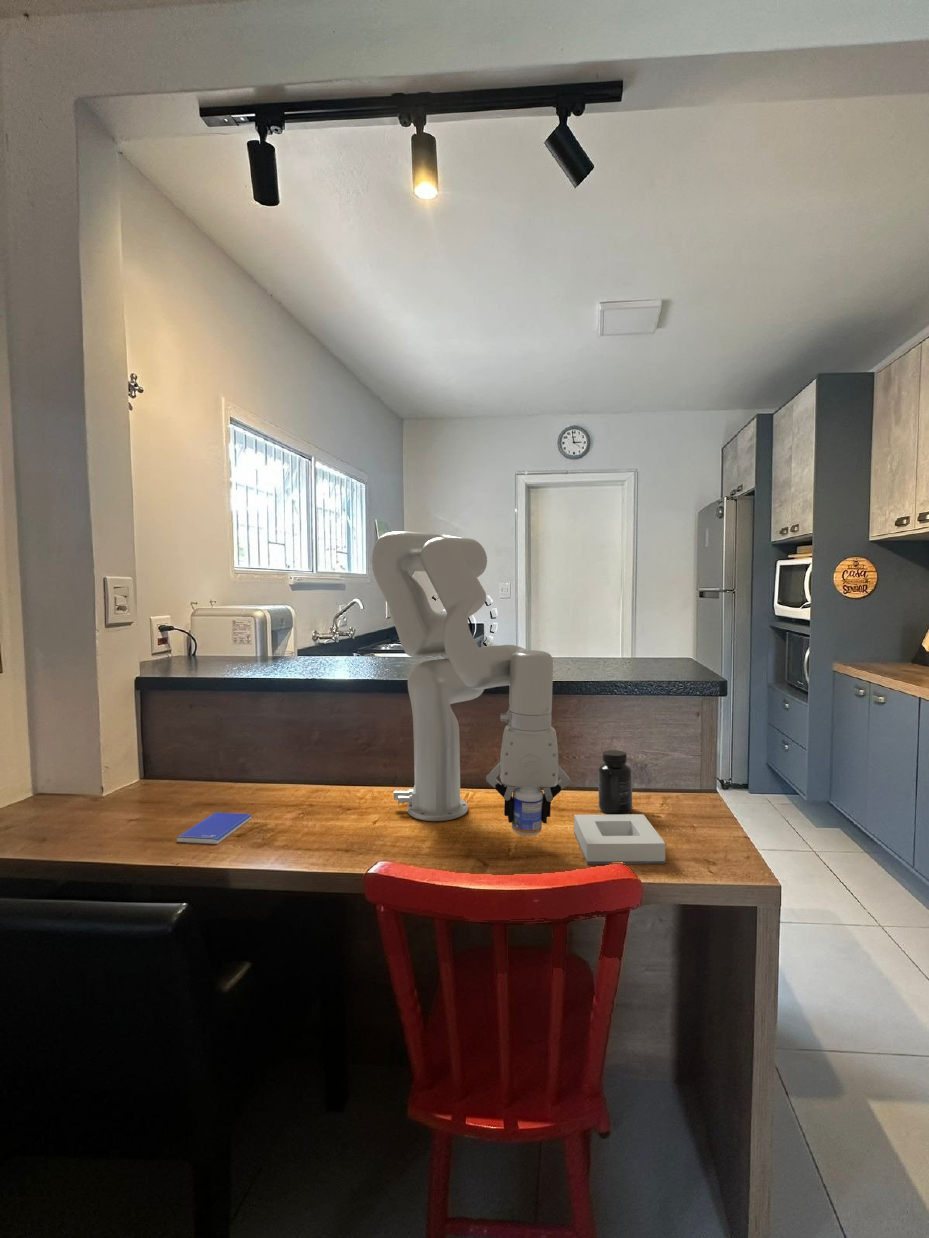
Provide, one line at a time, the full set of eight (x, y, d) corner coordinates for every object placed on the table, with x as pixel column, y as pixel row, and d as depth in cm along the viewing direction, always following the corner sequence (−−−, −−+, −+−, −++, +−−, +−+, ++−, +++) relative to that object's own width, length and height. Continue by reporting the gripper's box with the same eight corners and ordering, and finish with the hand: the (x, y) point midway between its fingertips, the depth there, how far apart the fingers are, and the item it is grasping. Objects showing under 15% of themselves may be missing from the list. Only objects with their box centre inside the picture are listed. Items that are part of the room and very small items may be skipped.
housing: (587, 864, 101) (587, 843, 101) (574, 832, 114) (574, 814, 114) (665, 863, 101) (665, 843, 101) (643, 832, 114) (643, 814, 114)
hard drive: (217, 838, 111) (251, 813, 123) (176, 835, 112) (214, 811, 125) (217, 846, 111) (251, 821, 123) (177, 844, 112) (214, 819, 125)
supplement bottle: (629, 804, 129) (629, 748, 128) (635, 816, 122) (635, 757, 122) (596, 803, 130) (596, 748, 129) (600, 815, 123) (600, 757, 122)
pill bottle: (509, 823, 111) (510, 772, 110) (538, 823, 111) (540, 771, 111) (514, 836, 106) (515, 782, 105) (544, 836, 106) (546, 782, 105)
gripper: (481, 725, 103) (479, 827, 105) (582, 727, 103) (578, 830, 104) (481, 714, 111) (479, 810, 112) (574, 716, 110) (571, 812, 112)
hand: (526, 818), depth 108 cm, fingers closed on pill bottle, 5 cm apart
